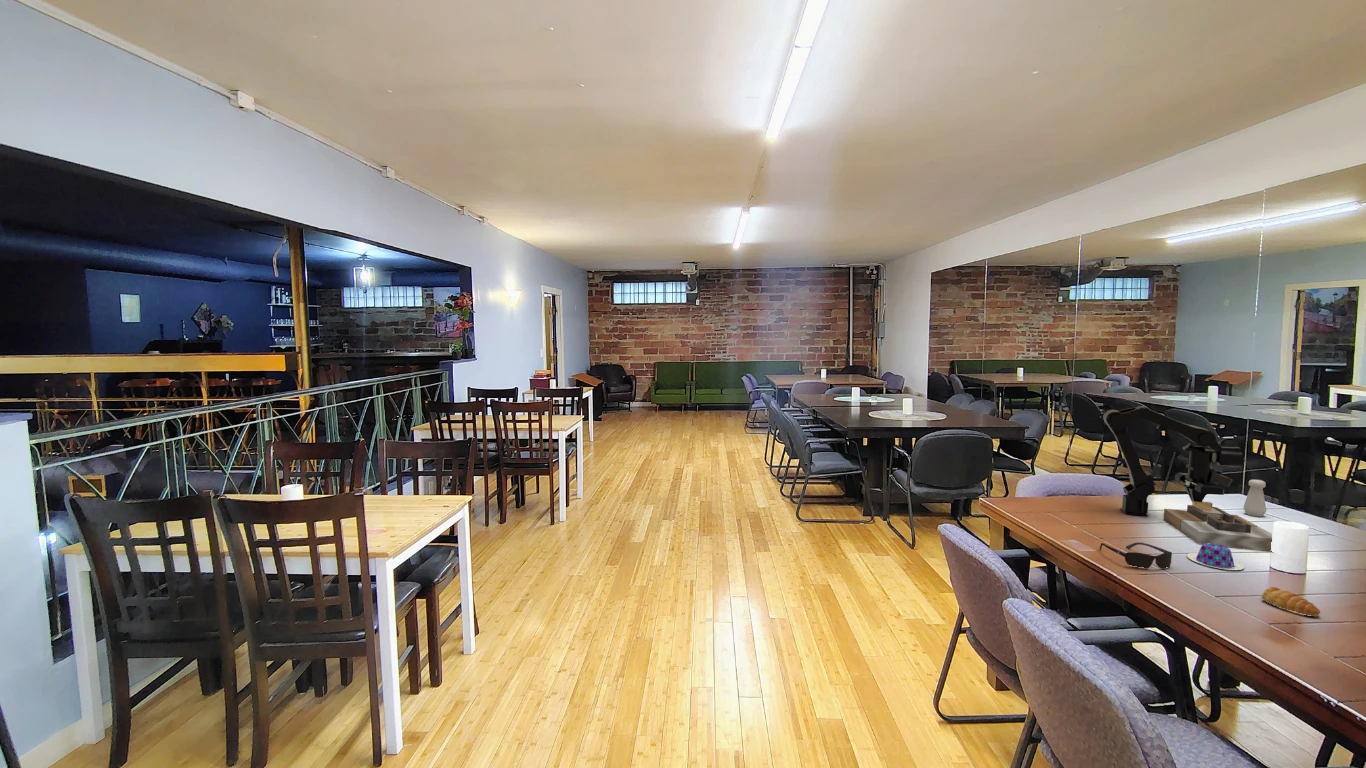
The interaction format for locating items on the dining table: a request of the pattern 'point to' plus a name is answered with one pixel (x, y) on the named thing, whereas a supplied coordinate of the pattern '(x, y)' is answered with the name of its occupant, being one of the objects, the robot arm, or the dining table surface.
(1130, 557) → the sunglasses
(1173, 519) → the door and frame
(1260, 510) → the salt shaker
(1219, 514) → the bolt
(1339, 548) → the dining table surface
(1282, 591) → the pastry
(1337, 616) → the dining table surface
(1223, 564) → the purple patterned hat
